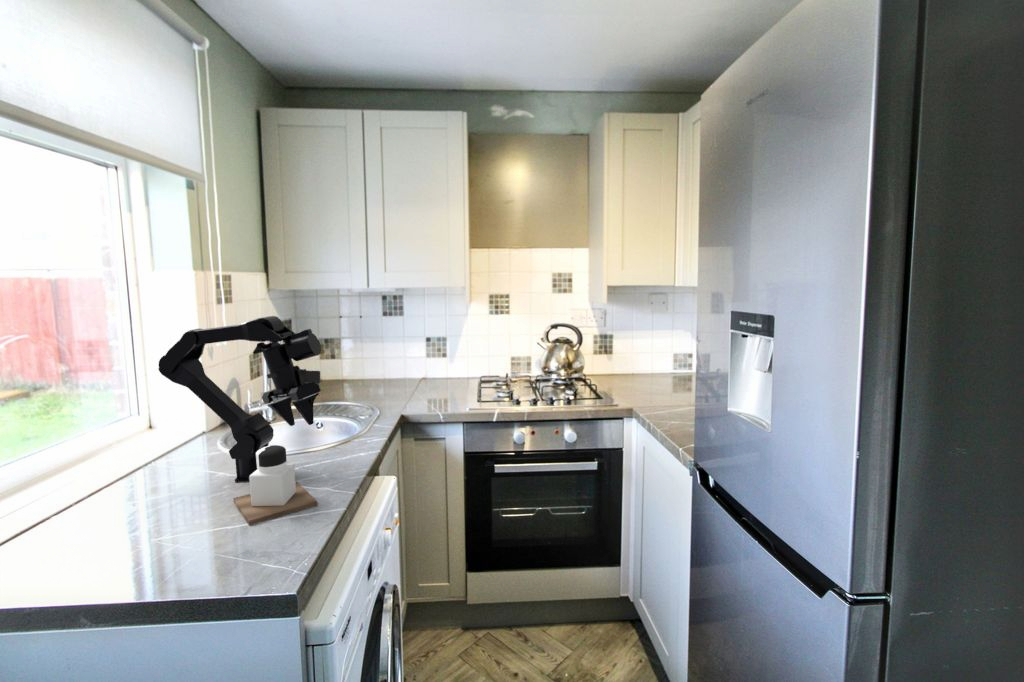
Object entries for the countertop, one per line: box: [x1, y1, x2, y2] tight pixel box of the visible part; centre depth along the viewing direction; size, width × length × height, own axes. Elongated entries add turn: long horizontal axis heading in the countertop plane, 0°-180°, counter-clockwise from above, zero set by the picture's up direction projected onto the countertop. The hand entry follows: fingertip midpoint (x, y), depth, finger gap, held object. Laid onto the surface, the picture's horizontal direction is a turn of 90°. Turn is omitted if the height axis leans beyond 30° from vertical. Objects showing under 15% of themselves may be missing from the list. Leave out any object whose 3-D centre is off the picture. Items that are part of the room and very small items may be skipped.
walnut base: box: [232, 481, 318, 526], centre depth 117 cm, size 14×14×1 cm
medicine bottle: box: [249, 444, 296, 506], centre depth 116 cm, size 7×7×12 cm
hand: (301, 424), depth 130 cm, fingers open, 9 cm apart
